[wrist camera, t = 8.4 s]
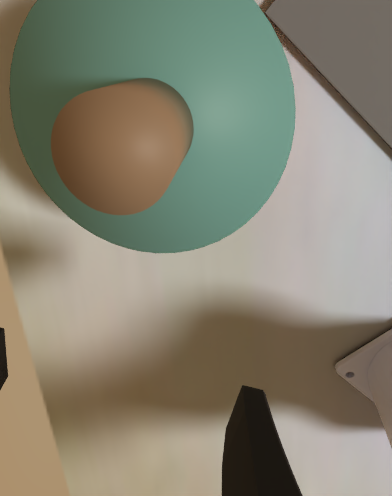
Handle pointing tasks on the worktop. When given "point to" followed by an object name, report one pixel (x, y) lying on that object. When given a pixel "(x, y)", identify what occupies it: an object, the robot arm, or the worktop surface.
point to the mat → (346, 50)
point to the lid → (153, 115)
